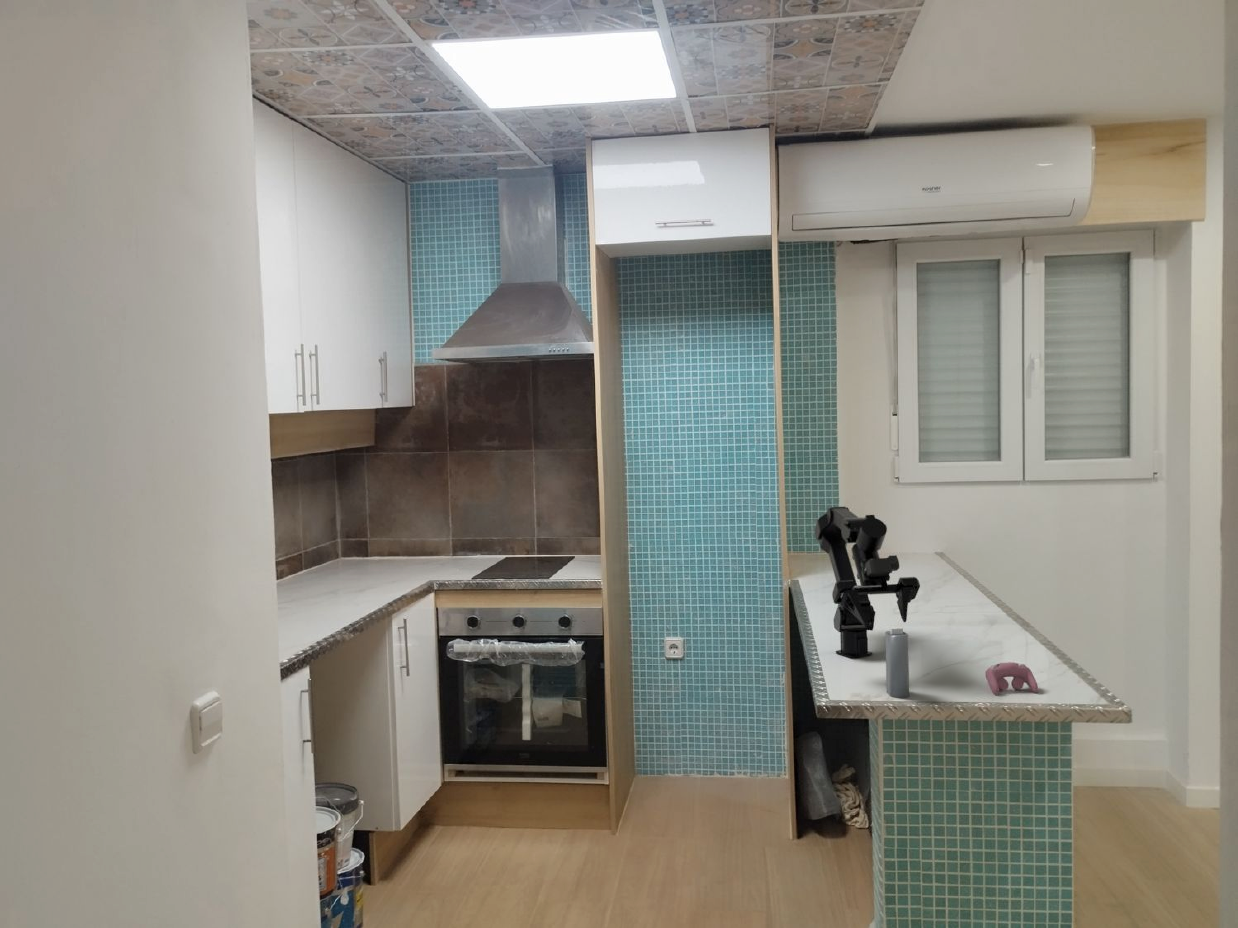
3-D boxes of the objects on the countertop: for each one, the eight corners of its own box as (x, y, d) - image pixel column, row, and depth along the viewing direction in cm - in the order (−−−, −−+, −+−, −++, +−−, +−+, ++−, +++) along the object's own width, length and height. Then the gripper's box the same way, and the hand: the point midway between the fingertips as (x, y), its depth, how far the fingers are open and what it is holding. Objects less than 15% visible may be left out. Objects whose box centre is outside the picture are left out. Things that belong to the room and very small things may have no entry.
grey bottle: (884, 690, 218) (882, 625, 217) (902, 689, 218) (900, 624, 217) (893, 698, 212) (891, 631, 211) (912, 697, 212) (910, 630, 211)
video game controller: (1032, 695, 215) (1025, 662, 218) (1041, 691, 211) (1034, 658, 214) (986, 698, 215) (980, 665, 217) (994, 694, 210) (988, 660, 213)
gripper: (834, 545, 226) (849, 604, 215) (916, 541, 227) (935, 599, 216) (826, 573, 234) (840, 632, 224) (905, 569, 235) (922, 627, 225)
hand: (884, 622), depth 222 cm, fingers open, 9 cm apart
